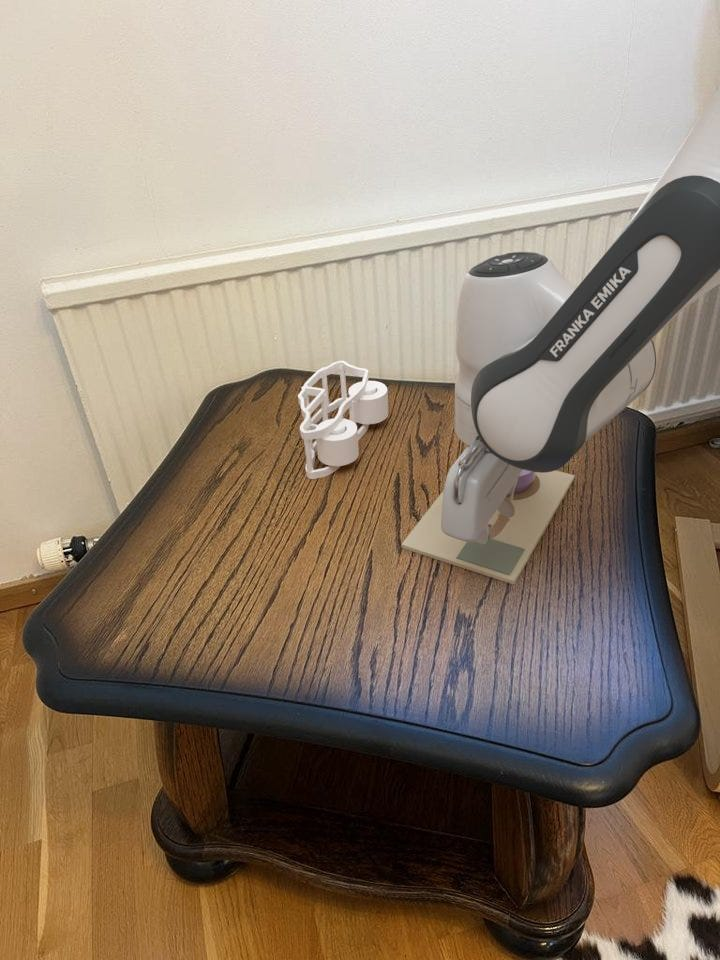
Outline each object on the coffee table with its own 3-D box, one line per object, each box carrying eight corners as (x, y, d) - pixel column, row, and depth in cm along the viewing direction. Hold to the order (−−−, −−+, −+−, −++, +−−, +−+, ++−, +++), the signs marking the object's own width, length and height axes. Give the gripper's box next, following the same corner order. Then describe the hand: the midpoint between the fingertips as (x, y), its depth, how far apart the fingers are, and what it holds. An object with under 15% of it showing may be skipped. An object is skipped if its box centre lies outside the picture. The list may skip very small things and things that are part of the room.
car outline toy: (345, 486, 100) (341, 439, 96) (271, 470, 104) (264, 425, 100) (398, 411, 115) (397, 368, 110) (332, 400, 119) (328, 358, 114)
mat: (574, 478, 99) (575, 474, 98) (514, 585, 83) (514, 580, 83) (474, 453, 105) (474, 448, 104) (401, 548, 90) (401, 543, 89)
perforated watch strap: (513, 529, 85) (516, 493, 82) (486, 549, 83) (488, 513, 80) (495, 518, 87) (497, 483, 84) (467, 538, 85) (468, 502, 82)
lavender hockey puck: (541, 474, 98) (543, 455, 97) (524, 501, 94) (526, 482, 92) (495, 462, 101) (496, 443, 99) (476, 488, 97) (477, 469, 95)
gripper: (488, 477, 67) (482, 590, 76) (560, 376, 81) (549, 480, 90) (424, 460, 70) (425, 570, 78) (505, 365, 84) (499, 467, 92)
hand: (492, 521), depth 84 cm, fingers closed on perforated watch strap, 5 cm apart
